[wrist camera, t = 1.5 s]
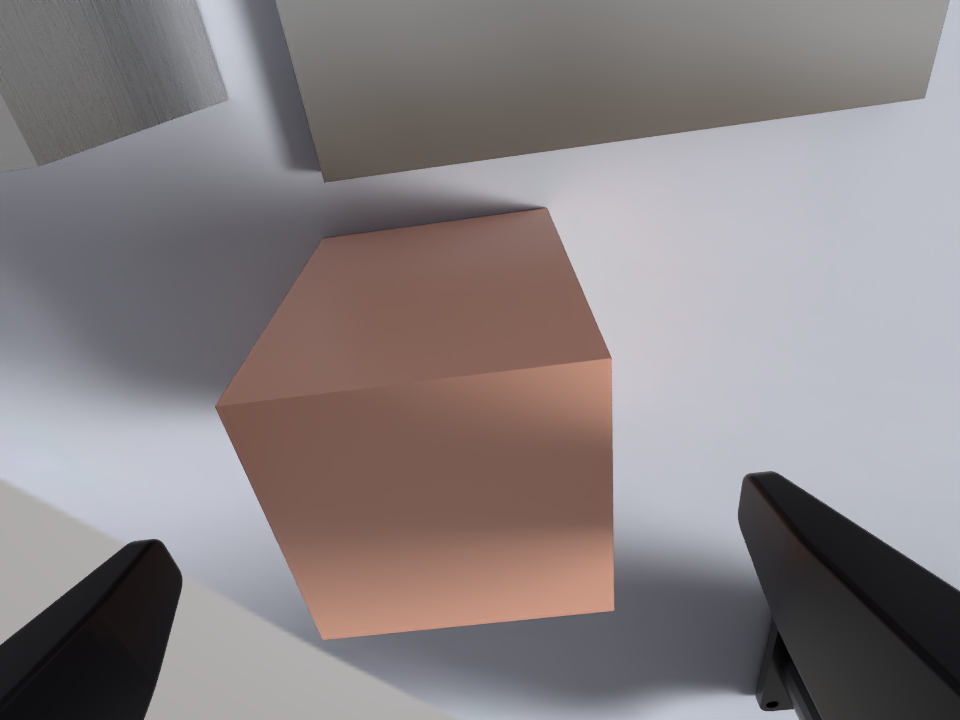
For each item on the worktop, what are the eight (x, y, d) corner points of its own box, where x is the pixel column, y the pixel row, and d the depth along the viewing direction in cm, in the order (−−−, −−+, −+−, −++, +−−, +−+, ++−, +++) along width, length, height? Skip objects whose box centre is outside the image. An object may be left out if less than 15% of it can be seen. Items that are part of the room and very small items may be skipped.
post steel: (228, 99, 12) (38, 166, 6) (106, 118, 12) (-177, 197, 7) (176, -57, 10) (-117, -132, 5) (38, -35, 10) (-384, -85, 5)
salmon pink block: (560, 394, 16) (614, 610, 10) (373, 417, 16) (323, 639, 10) (547, 207, 13) (611, 358, 7) (322, 238, 13) (214, 406, 7)
